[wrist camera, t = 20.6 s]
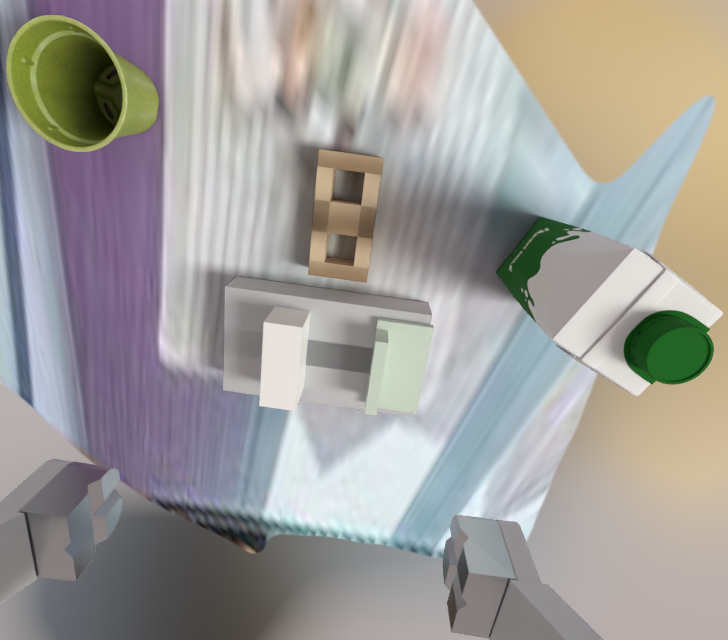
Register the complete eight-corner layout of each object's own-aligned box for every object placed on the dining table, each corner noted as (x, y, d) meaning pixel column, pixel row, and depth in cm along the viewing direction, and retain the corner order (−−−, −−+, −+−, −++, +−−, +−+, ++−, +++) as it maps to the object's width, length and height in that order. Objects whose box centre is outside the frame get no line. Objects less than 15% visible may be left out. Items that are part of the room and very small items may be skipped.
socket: (237, 276, 47) (224, 286, 44) (428, 302, 47) (432, 315, 44) (235, 373, 52) (223, 390, 48) (410, 397, 52) (411, 416, 48)
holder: (322, 149, 42) (318, 149, 40) (383, 157, 42) (383, 158, 40) (311, 268, 47) (308, 274, 44) (367, 276, 47) (366, 282, 44)
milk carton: (548, 318, 47) (654, 424, 29) (482, 273, 46) (548, 354, 27) (606, 252, 45) (765, 322, 26) (538, 202, 43) (654, 237, 24)
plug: (280, 299, 46) (263, 322, 40) (313, 304, 46) (302, 327, 40) (275, 374, 49) (259, 405, 43) (306, 378, 49) (295, 410, 43)
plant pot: (121, 169, 44) (62, 173, 36) (59, 77, 41) (-21, 57, 33) (196, 122, 42) (150, 114, 34) (135, 21, 39) (70, -14, 31)
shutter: (377, 317, 44) (377, 331, 40) (432, 325, 44) (436, 339, 40) (365, 402, 47) (363, 422, 44) (415, 409, 47) (418, 429, 44)
